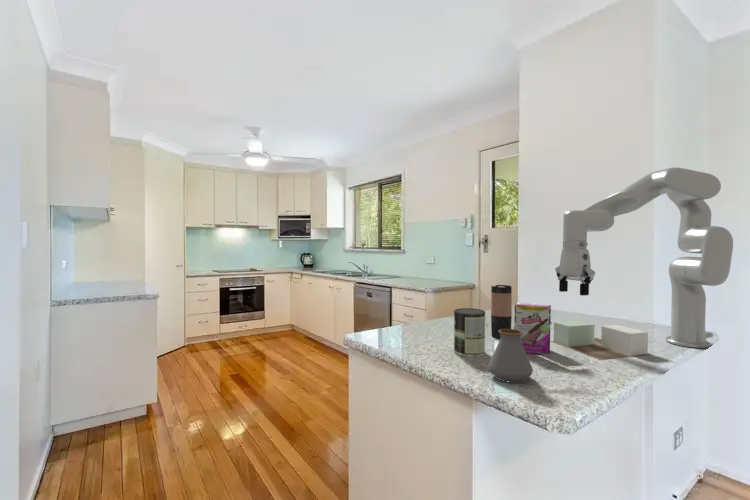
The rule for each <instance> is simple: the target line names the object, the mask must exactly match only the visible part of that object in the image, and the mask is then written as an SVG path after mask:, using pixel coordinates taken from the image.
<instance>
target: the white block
mask: <svg viewBox="0 0 750 500" xmlns="http://www.w3.org/2000/svg"><path fill="white" fill-rule="evenodd" d="M600 337H601V338H600V339H601V346H602V347H605V348H608V349H612V350H615V351H618V352H621V353H624V354H627V355H630V356H632V355H642V354H648V352H649V351H648V350H649V349H648V347H649V338H648V337H649V332H648V331H643V330H640V329H635V328H631V327H628V326H623V325H619V324H613V325H602V326H601V336H600Z"/></svg>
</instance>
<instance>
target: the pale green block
mask: <svg viewBox="0 0 750 500" xmlns="http://www.w3.org/2000/svg"><path fill="white" fill-rule="evenodd" d="M595 326H596V325H595V324H593V323H589V322H586V321H582V320H569V321H568V320H567V321H553V341H554V342H557V343H559V344H562V345H565V346H568V347H570V346H582V345H593V344H594V338H595Z"/></svg>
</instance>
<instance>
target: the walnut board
mask: <svg viewBox="0 0 750 500" xmlns="http://www.w3.org/2000/svg"><path fill="white" fill-rule="evenodd" d="M550 343H553V344H556V345H559V346H561V347H563V348H567V349H570V350H572V351H575V352H578V353H580V354H583V355H585V356H589V357H591V358H593V359H597V360H599V361H604V360H614V359H615V360H617V359H622V358H623V359H624V358H633V357H642V356H652V355H653V354H652V353H648V354H642V355H632V356H630V355H627V354H624V353H621V352H618V351H615V350H612V349H608V348H605V347H602V346H601V338H599V337H594V344H593V345H582V346H570V347H568V346H565V345H562V344H559V343H557V342H554V340H550Z"/></svg>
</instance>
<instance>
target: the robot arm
mask: <svg viewBox="0 0 750 500" xmlns="http://www.w3.org/2000/svg"><path fill="white" fill-rule="evenodd" d="M721 183H722V182H721V180H720V179H719V178H718V177H716V175H713V174H711V173H708V172H704V171H703V172H702V171H697V170H693V169H688V168H683V167H668V168H664V169H661V170H656V171H652V172H650V173H648V174H646V175H644V176H643V177H640V178H639V179H638V180H636V181H635V182H633V183H631V184H630V185H628V186H626V187H625V188H623V189H621V190H619V191H618V192H616V193H613V194H611V195H610V196H608V197H606V198H604V199H601V200H599V201H598V202H595V203H593V204H592V205H589V207H587V208H585V209H582V210H576V209H575V210H567V211H565V212H564V213H563V219H562V220H563V224H562V225H563V226H562V229H563V230H562V249H561V254H560V258H559V266H557V267H555V268H554V270H555V273H556V276H557V280H558V281H559V284H558V285H559V286H558V287H559V288H558V291H559V292H561V293H562V292H564V293H565V292H568V290H569V288H568V286H569V285H568V283H569V281H568V280H567V279H568V278H578V279H579V280H580V284H579V296H589V295H590V285H591V284H592V282H593V280H594V277H595V275H596V272H595V270H594V269H592V268H591V267H592V266H591V256H590V255H591V254H590V251H589V249H587V246H588V245H589V244H588V243H589V242H588V241H587V240H588V233H589V232H604V231H607V230H609V229H611V228H612V227H613V226H614V223H615V217H617V216H622V215H625V214H630V213H631V212H635V211H637V210H639V209H640V208H642V207H643V206H645V205H647V204H648V203H651V202H652V201H653V200H655V199H656V198H658V197H661V196H662V195H664V194H666V196H667V198H668V199H669V200H670V201H671V202H672V203H674V205H675V206H677V208H678V211H679V214H680V217H679V218H680V221H679V226H678V227H679V229H678V235H677V247H678V249H679V250H680V251H681V252H683V253H689V254H701V257H699V256H681V257H677V258H675V259H673V260H672V261H671V262H670V264H669V266H668V275H669V279H670V284H671V309H670V310H671V313H670V314H671V316H670V317H671V318H670V326H671V327H670V335H669V336H668V335H667V336H666V337H665V341H666V342H667V343H669V344H672V345H676V346H682V347H688V348H696V349H697V348H698V349H706V348H707V349H708V348H710V347H711V346H712V343H711V342H710V341H708V340H707V339H709V338H713V337H714V333H713V332H711V331H709V332H707V331H706V309H707V308H706V307H707V306H706V304H707V303H706V301H707V297H706V296H707V295H706V292H705V289H704V287H703V286H707V287H708V286H709V287H710V286H712V287H716V286H720V285H722V284H725V282H726V281H727V279H729V278H728V277H729V275H730V272H731V264H732V257H733V250H734V249H733V248H734V239H733V235H732V234H731V232H730V230H728V229H726V228H725V227H723V226H719V225H717V226H716V225H715V226H714V225H712V210H711V208H710V206H709V204H708V203H707V202H706V201H705V200H710V199H712V198H714V197H716V196H717V195H719V193H720V191H721V188H722V185H721Z"/></svg>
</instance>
